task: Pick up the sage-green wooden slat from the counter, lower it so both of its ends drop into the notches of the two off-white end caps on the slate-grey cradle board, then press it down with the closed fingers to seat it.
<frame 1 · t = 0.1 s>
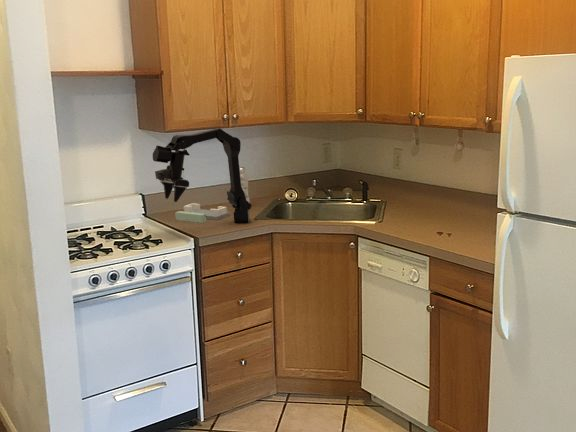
hand: (170, 200, 284), 15 cm above the worktop, tool pointing down, fingers open, 9 cm apart
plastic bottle: (243, 206, 338), on the worktop
slat: (190, 221, 312), on the worktop
cradle: (205, 215, 321), on the worktop
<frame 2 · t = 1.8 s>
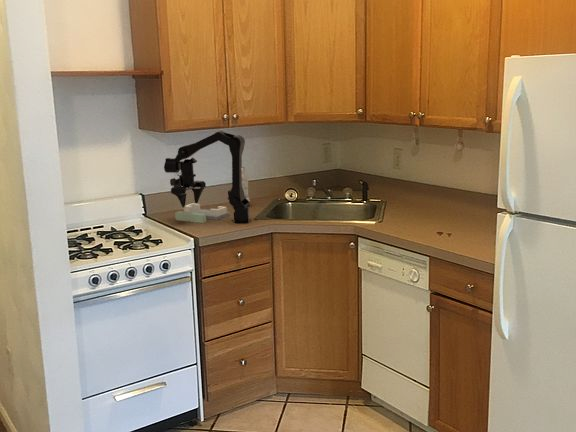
hand: (189, 205, 310), 7 cm above the worktop, tool pointing down, fingers open, 9 cm apart
nothing on the worktop moved.
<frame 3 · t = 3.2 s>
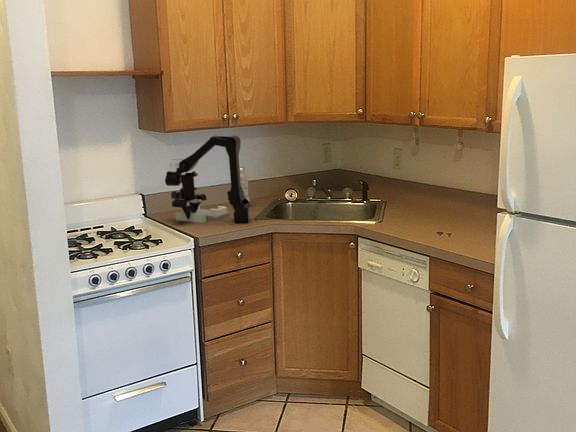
hand: (190, 218, 311), 1 cm above the worktop, tool pointing down, fingers closed on slat, 3 cm apart
slat: (190, 221, 312), on the worktop, touching gripper
everything else where it was.
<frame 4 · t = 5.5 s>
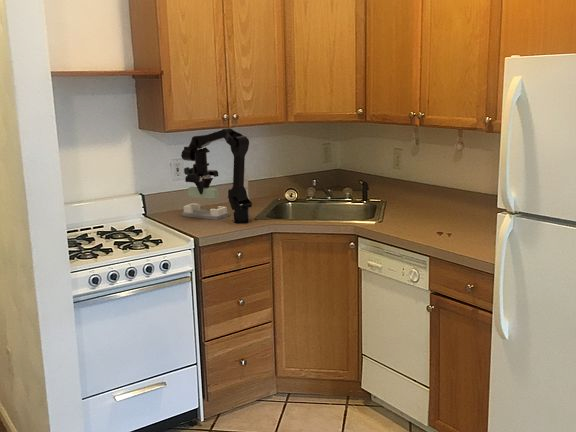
hand: (203, 193, 318), 11 cm above the worktop, tool pointing down, fingers closed on slat, 3 cm apart
slat: (203, 196, 318), point 10 cm above the worktop, touching gripper
everything else where it was.
when the fingers open (4 cm above the worktop, at t = 7.5 s): slat stays where it is, resting on cradle.
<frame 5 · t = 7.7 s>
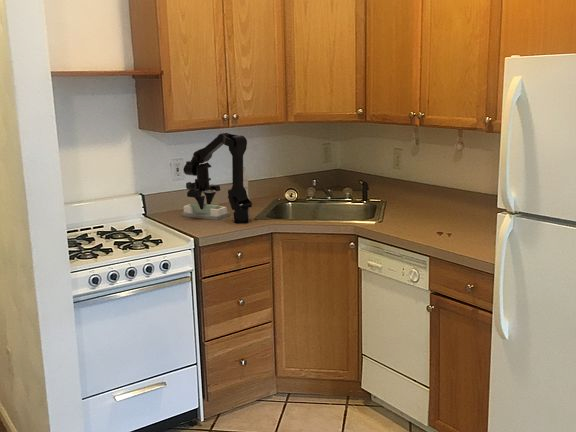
hand: (205, 208, 320), 4 cm above the worktop, tool pointing down, fingers open, 5 cm apart
slat: (205, 212, 320), point 1 cm above the worktop, touching cradle
everything else where it was.
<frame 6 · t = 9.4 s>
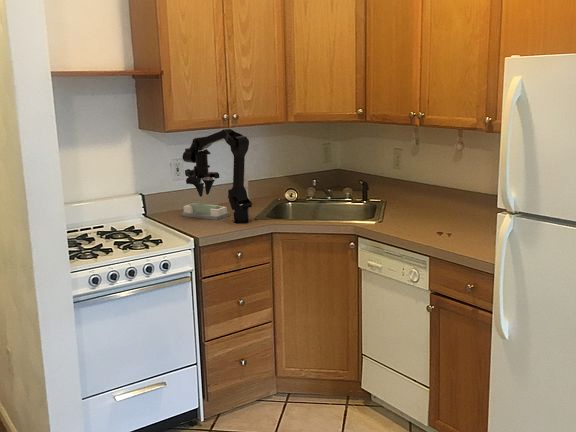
hand: (204, 195, 318), 10 cm above the worktop, tool pointing down, fingers open, 5 cm apart
nothing on the worktop moved.
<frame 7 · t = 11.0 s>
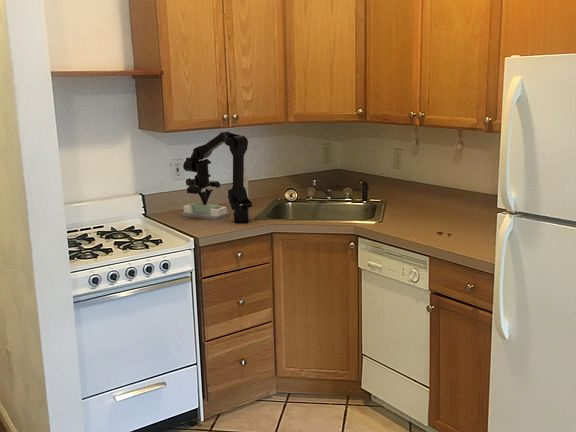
hand: (204, 204, 319), 5 cm above the worktop, tool pointing down, fingers closed, pressing on slat
slat: (205, 212, 320), point 1 cm above the worktop, touching cradle, gripper
everything else where it was.
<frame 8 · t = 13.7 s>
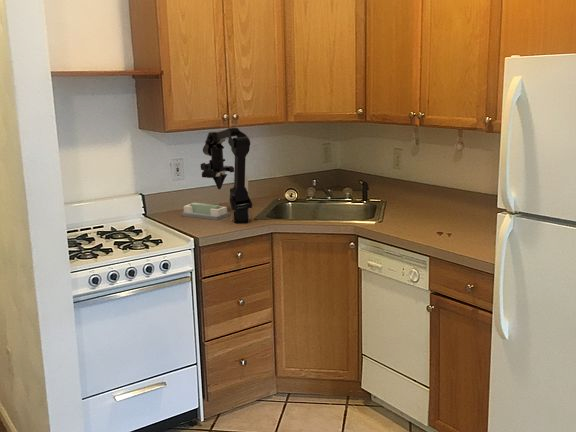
hand: (219, 189, 322), 12 cm above the worktop, tool pointing down, fingers closed
slat: (205, 212, 320), point 1 cm above the worktop, touching cradle
everything else where it was.
at the end: slat 0.0 cm off-centre on the cradle, point 1.5 cm above the cradle's base; slat tilted 0°; the gripper is holding nothing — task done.
